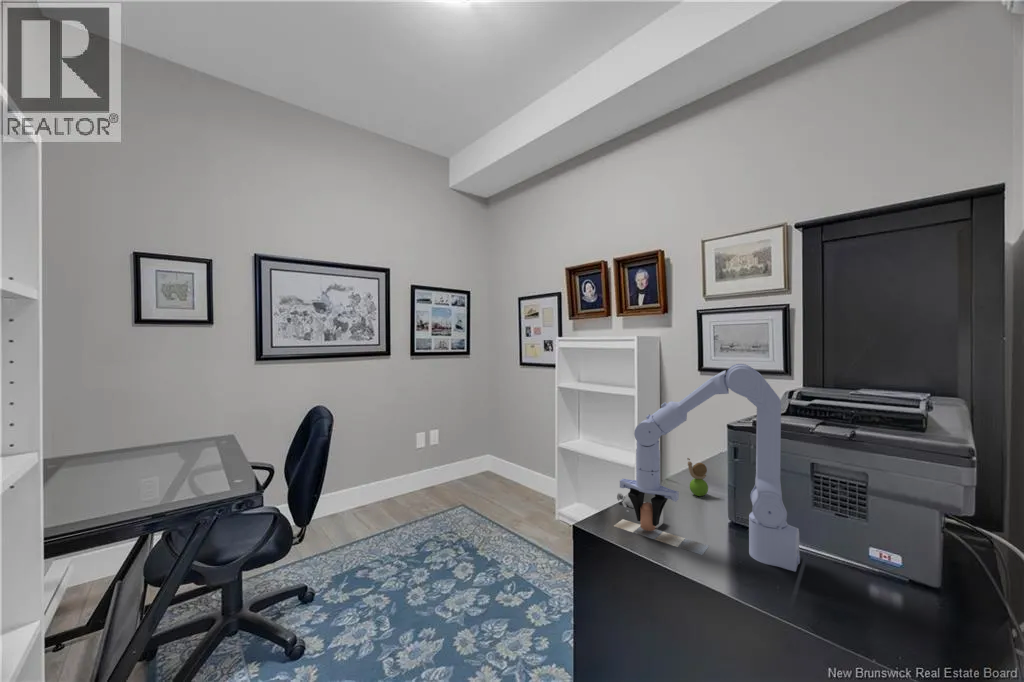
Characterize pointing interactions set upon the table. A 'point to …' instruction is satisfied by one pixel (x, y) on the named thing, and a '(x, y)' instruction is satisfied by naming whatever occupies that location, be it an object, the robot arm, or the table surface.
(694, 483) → the snail figurine
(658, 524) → the die
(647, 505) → the pawn
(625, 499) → the soldier figure
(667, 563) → the table surface
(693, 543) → the board
